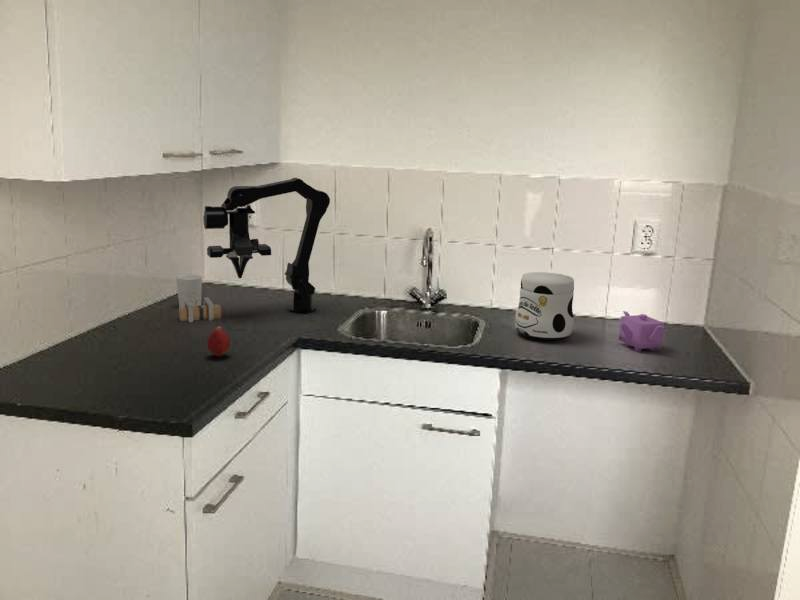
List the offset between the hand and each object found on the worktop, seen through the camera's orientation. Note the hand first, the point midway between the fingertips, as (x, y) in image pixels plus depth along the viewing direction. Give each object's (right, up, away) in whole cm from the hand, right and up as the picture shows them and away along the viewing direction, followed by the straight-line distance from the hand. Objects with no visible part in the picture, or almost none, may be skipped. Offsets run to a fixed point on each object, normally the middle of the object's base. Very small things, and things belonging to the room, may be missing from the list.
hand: (239, 278), depth 223 cm
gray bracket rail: (-13, -12, -2) cm, 18 cm away
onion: (+3, -22, -38) cm, 44 cm away
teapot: (+118, -21, -16) cm, 121 cm away
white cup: (-18, -9, +10) cm, 23 cm away
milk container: (+93, -18, -8) cm, 95 cm away
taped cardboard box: (-12, -12, -3) cm, 17 cm away
